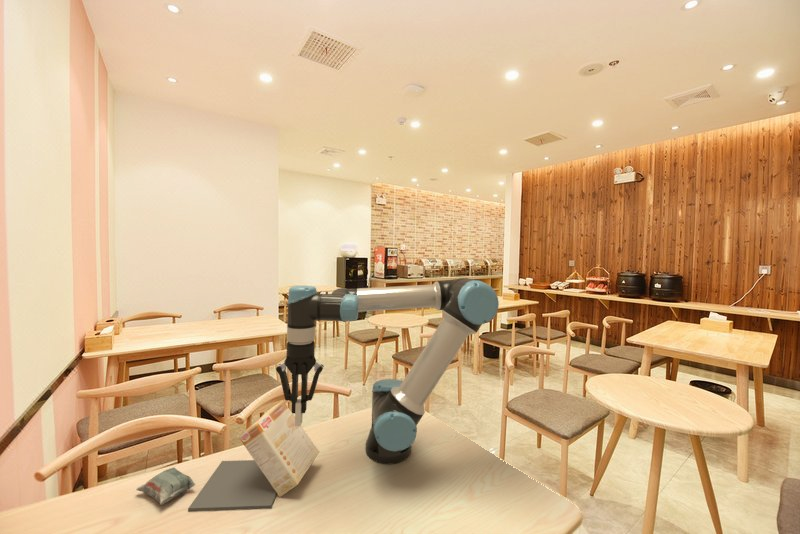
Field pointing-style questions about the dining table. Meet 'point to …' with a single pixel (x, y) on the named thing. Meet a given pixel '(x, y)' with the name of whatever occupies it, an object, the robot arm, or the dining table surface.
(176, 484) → the packaged food
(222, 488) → the mat
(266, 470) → the coffeecake box
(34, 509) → the dining table surface
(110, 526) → the dining table surface
